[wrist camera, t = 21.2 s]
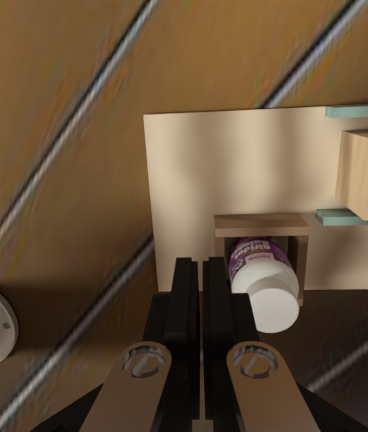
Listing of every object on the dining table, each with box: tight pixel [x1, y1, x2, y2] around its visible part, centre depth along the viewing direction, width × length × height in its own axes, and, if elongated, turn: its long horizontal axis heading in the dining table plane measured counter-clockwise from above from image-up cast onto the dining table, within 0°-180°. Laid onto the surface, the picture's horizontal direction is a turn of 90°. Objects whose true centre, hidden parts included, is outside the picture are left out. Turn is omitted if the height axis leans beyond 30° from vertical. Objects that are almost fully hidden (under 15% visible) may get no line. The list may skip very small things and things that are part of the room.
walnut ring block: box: [214, 213, 310, 306], centre depth 32 cm, size 8×8×4 cm
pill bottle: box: [227, 236, 299, 333], centre depth 29 cm, size 5×5×10 cm
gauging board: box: [143, 104, 368, 292], centre depth 31 cm, size 24×18×3 cm
